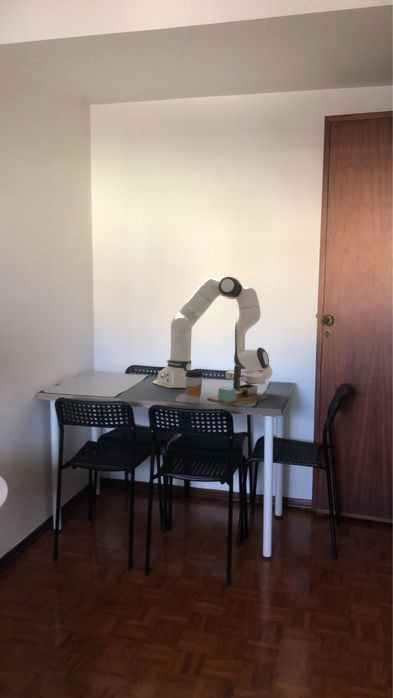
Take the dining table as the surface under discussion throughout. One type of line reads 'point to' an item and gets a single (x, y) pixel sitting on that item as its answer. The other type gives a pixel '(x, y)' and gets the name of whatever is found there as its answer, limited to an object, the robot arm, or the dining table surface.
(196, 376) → the coffee cup
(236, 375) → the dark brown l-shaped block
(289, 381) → the dining table surface
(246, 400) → the board
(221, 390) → the mint green block
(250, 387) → the sleeve
